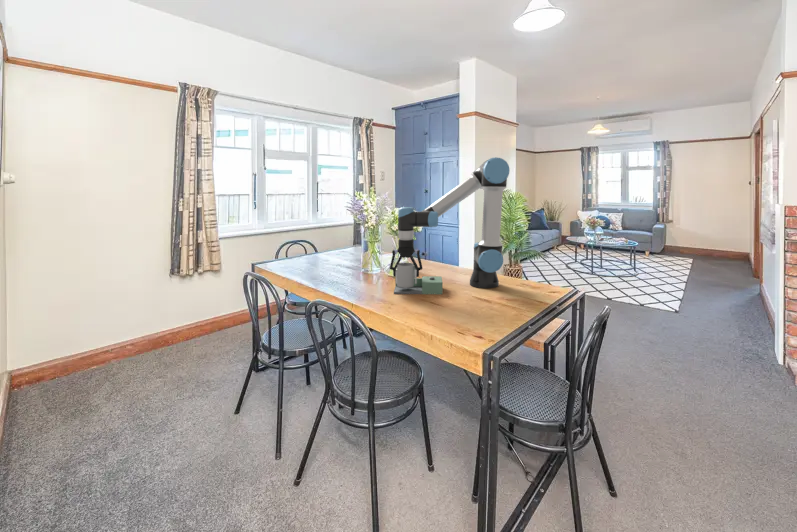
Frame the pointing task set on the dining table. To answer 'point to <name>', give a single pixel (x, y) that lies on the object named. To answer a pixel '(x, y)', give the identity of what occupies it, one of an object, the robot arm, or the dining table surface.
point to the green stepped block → (423, 286)
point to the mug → (405, 275)
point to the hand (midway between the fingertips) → (406, 283)
